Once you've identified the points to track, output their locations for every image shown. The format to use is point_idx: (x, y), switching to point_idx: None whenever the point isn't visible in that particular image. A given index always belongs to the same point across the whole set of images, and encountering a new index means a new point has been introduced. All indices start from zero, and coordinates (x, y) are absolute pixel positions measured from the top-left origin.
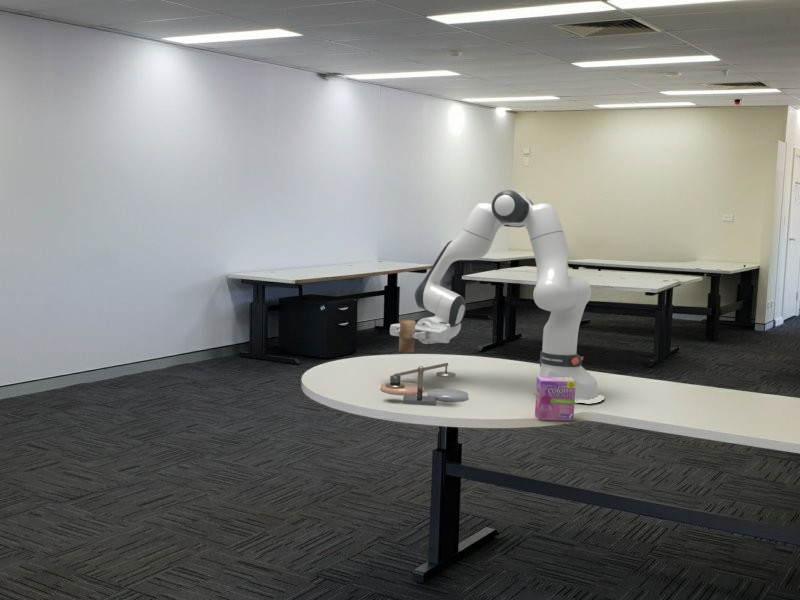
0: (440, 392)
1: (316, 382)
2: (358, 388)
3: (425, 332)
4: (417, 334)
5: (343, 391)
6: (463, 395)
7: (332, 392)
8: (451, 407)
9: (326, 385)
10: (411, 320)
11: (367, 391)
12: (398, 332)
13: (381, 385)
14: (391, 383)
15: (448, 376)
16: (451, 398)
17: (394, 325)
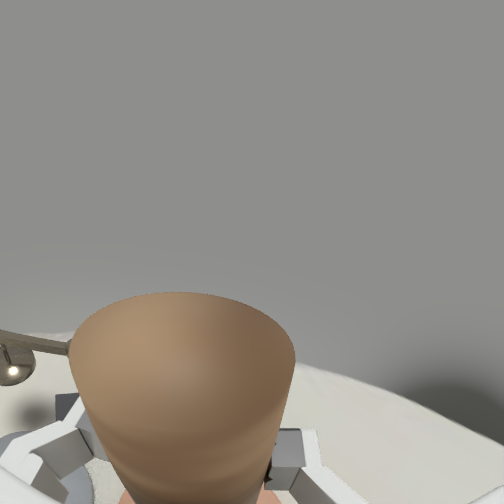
0: None
1: (436, 428)
2: (328, 463)
3: (5, 452)
4: (75, 414)
5: (325, 417)
6: None
7: (332, 397)
8: (27, 395)
9: (400, 428)
10: (145, 403)
11: None
12: (280, 430)
13: (272, 495)
14: None
15: (8, 346)
16: (20, 432)
17: (481, 502)
